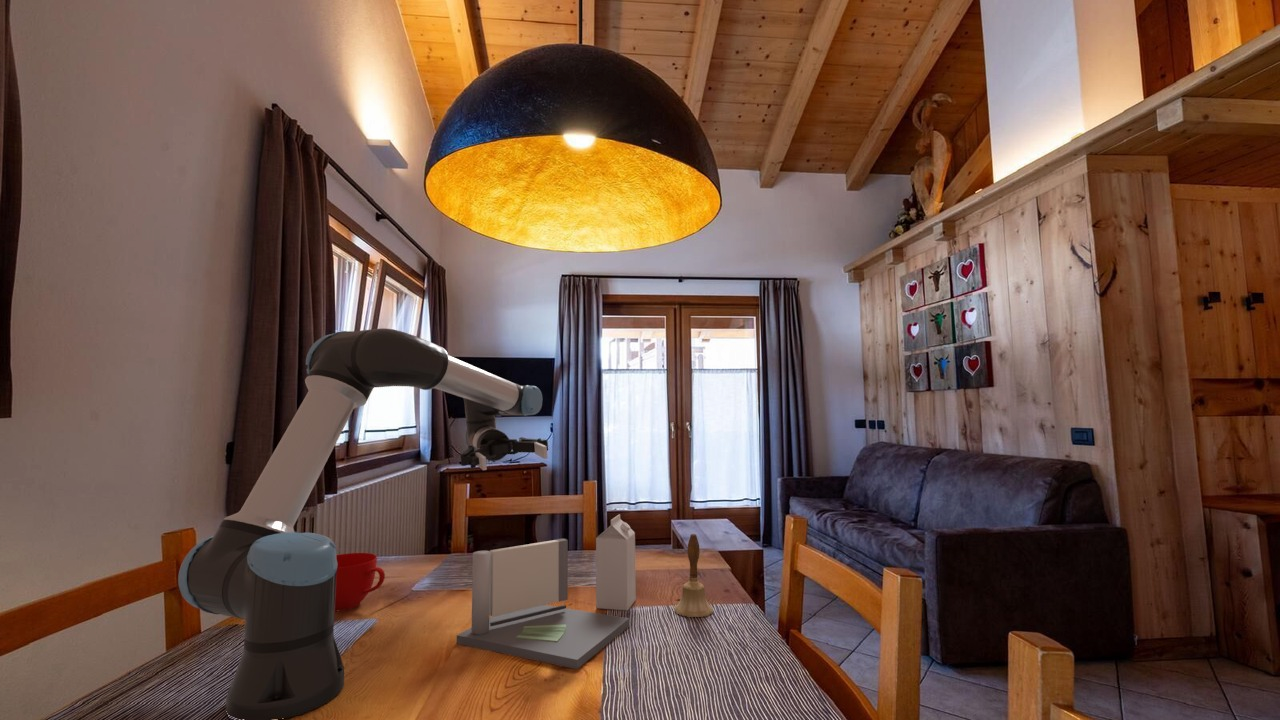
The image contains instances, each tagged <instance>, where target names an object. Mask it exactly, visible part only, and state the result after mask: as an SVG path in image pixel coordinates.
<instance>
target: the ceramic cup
mask: <svg viewBox="0 0 1280 720" xmlns="http://www.w3.org/2000/svg"><path fill="white" fill-rule="evenodd" d="M336 557H337V563H338V566H337V573H336V592H335V611H334V612H338V611H337V610H343V611H347V610H346V609H348V610H351V609H350V608H352V609H354V608H353V607H355V608H357V607H358V606H359V605H361V603H362V601H363V600H364V599H365V598H366V597H367V595H368V594H369V593H372V592H374V591H376V590H377V589H379V588H380V587H381V586H382V585H383V583H384V580H385V577H386V576H385V575H386V574H385V571H384V569H383V568H382V567H377V562H378V561H377V560H378V556H377V554H374V553H369V552H350V553H349V552H348V553H341V554H336ZM376 573H378V575H379V580H378V581H377V583H376V585H375V586H373V585H374V584H373V583H374V580H375V577H376V576H375V575H376ZM356 606H357V607H356Z"/></svg>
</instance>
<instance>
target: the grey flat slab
mask: <svg viewBox="0 0 1280 720" xmlns="http://www.w3.org/2000/svg"><path fill="white" fill-rule="evenodd" d="M553 607H556V606H555V605H549V604H546V605H542V606H537V607H533V608H529V609H524V610H520V611H516V612H511V613H507V614H503V615H498V616H494V617H492V616H491V617H489V632H487V633H485V634H481V635H475V634H472V633H471V632H472V627H470V628H468V629H466V630H464V631H462V632H460V633H458V634H456V643H455V644H457V645H460V646H465V647H466V646H467V647H470V648H475V649H480V650H484V651H489V652H494V653H499V654H502V655H504V654H505V655H508V656H512V657H519V658H522V659H527V660H531V661H536V662H541V663H546V664H551V665H555V666H561V667H565V668H570V669H574V670H579V669H580V668H581V667H582V666H584V664H586V663H587V662H588V661H589V660H590V659H592V658H593V657H595V655H597V654H598V653H599V652H600V651H602V650H603V649H604V648H605V647H606V646H607V645H609V644H610V643H611V642H612V641H613V640H615V639H616V638H617V637H619V635H620V633H621V632H622V633H623V632H624V631H625V630H627V629H628V628H629V627H630V617H623V616H617V615H612V614H611V615H610V614H604V613H600V612H599V613H598V612H592V611H585V610H580V609H573V608H567V607H566V608H565V609H561V610H557V611H553V612H549V613H545V614H540V615H536V616H532V617H528V618H524V619H520V620H516V621H512V622H507V623H503V624H499V625H495V626H490V622H494V621H498V620H502V619H507V618H511V617H515V616H519V615H523V614H528V613H532V612H536V611H540V610H544V609H549V608H553ZM628 626H629V627H628ZM627 627H628V628H627ZM626 628H627V629H626ZM622 633H621V634H622ZM615 637H616V638H615ZM608 643H609V644H608ZM602 648H603V649H602Z"/></svg>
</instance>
